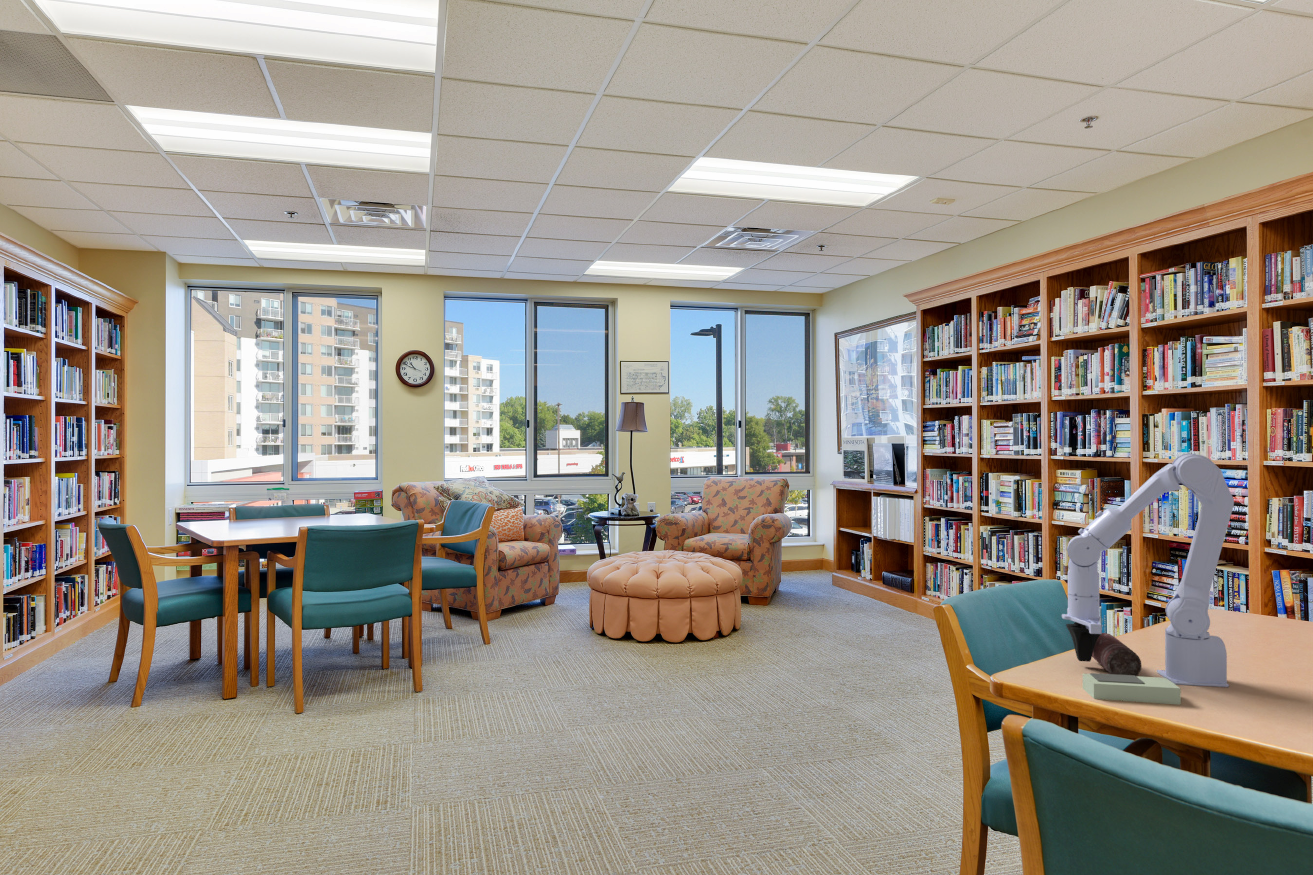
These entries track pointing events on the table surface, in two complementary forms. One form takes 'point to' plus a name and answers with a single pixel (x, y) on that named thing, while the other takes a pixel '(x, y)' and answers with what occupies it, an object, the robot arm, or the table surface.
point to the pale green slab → (1131, 688)
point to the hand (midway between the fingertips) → (1083, 660)
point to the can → (1116, 656)
